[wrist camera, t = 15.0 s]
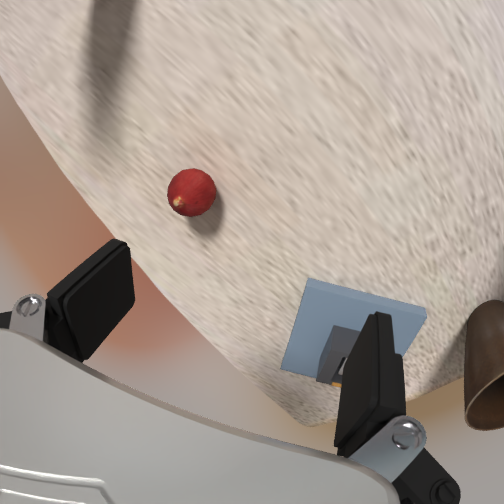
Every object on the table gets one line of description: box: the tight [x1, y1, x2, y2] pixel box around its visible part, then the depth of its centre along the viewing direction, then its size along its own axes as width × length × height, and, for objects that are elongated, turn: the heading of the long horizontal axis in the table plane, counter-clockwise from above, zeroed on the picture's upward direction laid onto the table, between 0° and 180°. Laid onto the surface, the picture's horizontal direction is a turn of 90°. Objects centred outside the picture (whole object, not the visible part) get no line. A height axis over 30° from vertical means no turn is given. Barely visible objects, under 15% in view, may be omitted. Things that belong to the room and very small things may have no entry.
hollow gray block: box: [316, 325, 361, 387], centre depth 43 cm, size 7×7×5 cm
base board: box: [280, 278, 427, 378], centre depth 46 cm, size 18×18×2 cm
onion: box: [167, 168, 216, 217], centre depth 38 cm, size 6×6×8 cm
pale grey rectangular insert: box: [338, 357, 347, 375], centre depth 44 cm, size 2×4×4 cm, turn 172°
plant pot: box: [464, 300, 504, 431], centre depth 32 cm, size 15×15×16 cm
